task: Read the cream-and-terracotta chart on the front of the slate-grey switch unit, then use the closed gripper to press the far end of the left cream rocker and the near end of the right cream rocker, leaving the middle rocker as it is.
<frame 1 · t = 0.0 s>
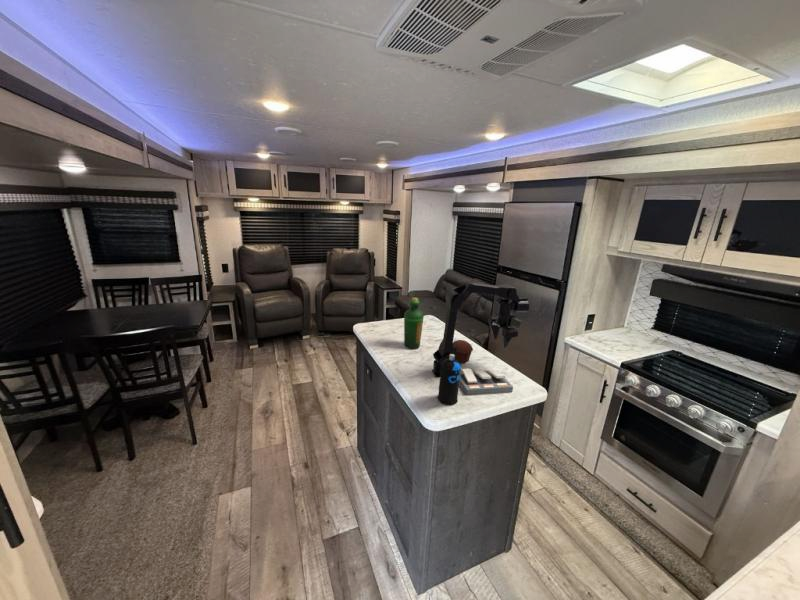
hand: (499, 343, 147), 15 cm above the countertop, fingers open, 9 cm apart
aerosol can: (447, 399, 126), on the countertop
switch unit: (482, 384, 138), on the countertop
bottle: (411, 346, 173), on the countertop
rocker B: (482, 375, 138), point 4 cm above the countertop, hinge at -12.0°
muffin: (460, 359, 161), on the countertop
rocker A: (469, 376, 137), point 4 cm above the countertop, hinge at 12.0°
rocker C: (496, 374, 139), point 4 cm above the countertop, hinge at -12.0°
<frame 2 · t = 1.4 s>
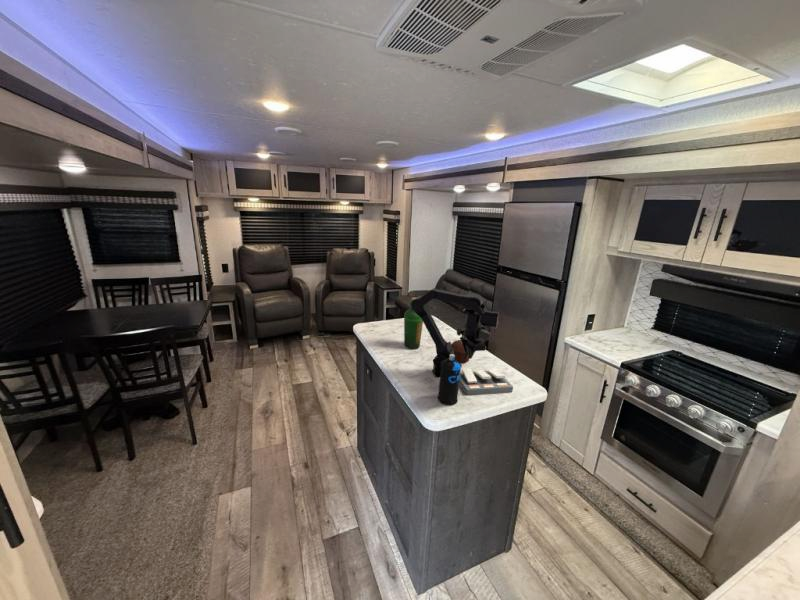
hand: (468, 356, 138), 12 cm above the countertop, fingers open, 4 cm apart
nothing on the countertop moved.
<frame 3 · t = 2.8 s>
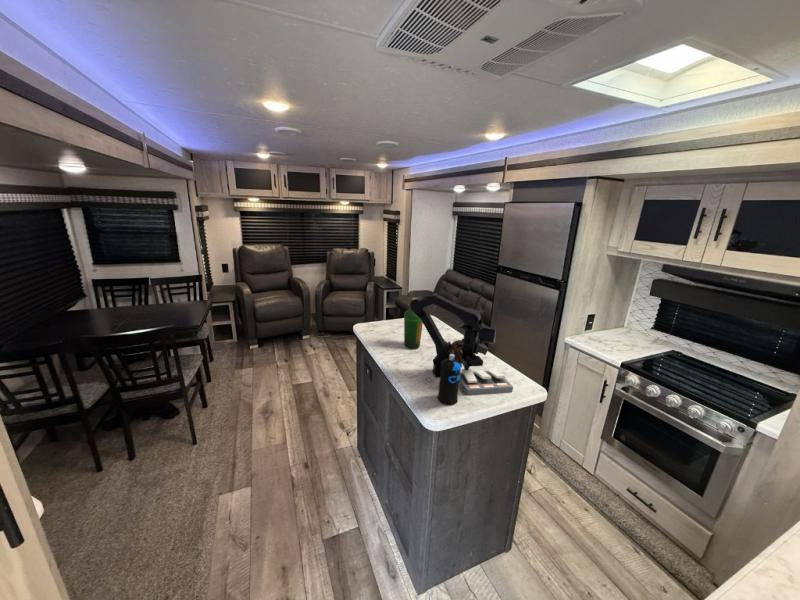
hand: (466, 370, 140), 5 cm above the countertop, fingers closed, pressing on rocker A
rocker A: (469, 376, 137), point 4 cm above the countertop, hinge at 10.4°, touching gripper
everything else where it was.
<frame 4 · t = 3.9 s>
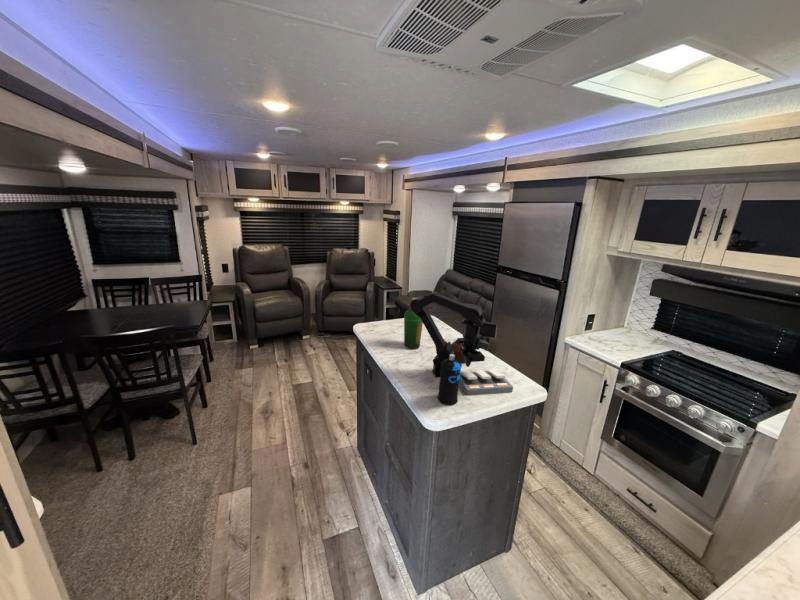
hand: (467, 366, 139), 7 cm above the countertop, fingers closed
rocker A: (469, 375, 137), point 4 cm above the countertop, hinge at -14.4°
everything else where it was.
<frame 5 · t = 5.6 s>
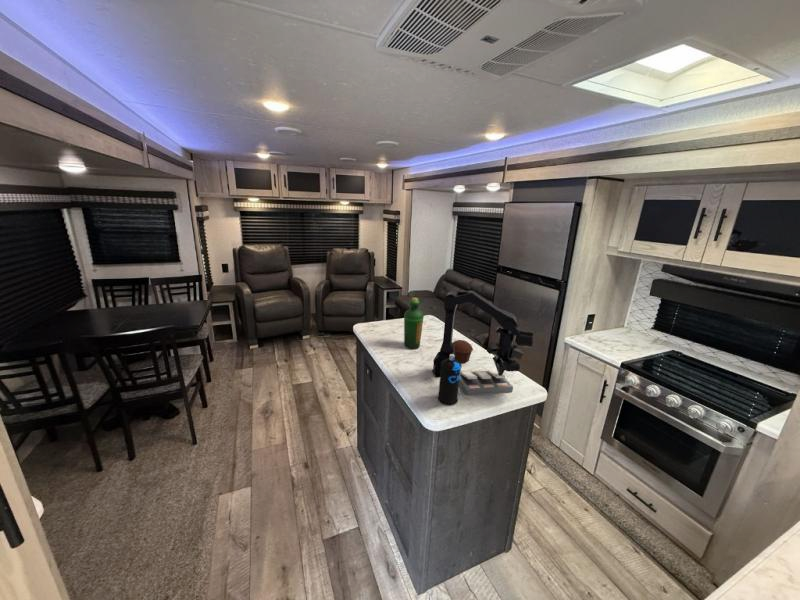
hand: (500, 375, 136), 6 cm above the countertop, fingers closed, pressing on rocker C
rocker A: (469, 375, 137), point 4 cm above the countertop, hinge at -16.6°
rocker C: (496, 374, 139), point 4 cm above the countertop, hinge at -12.0°, touching gripper
everything else where it was.
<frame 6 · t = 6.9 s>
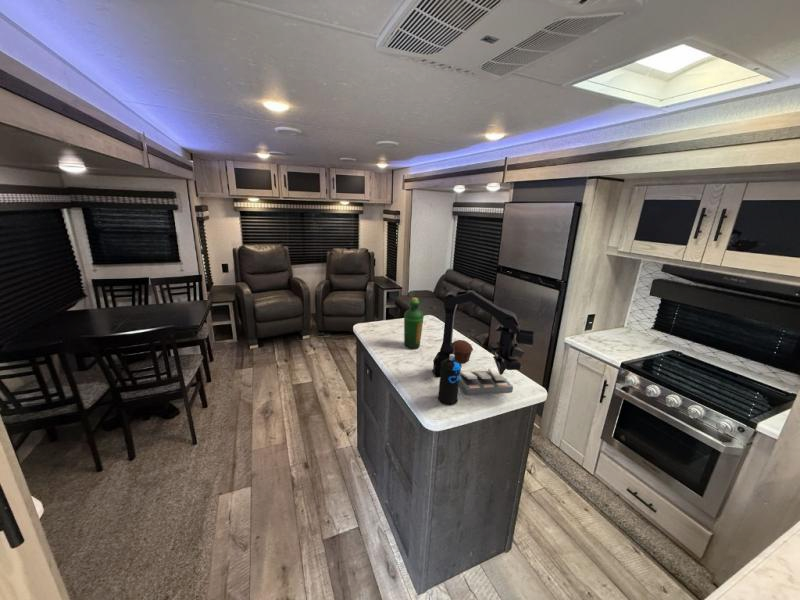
hand: (500, 374, 136), 6 cm above the countertop, fingers closed
rocker C: (496, 374, 139), point 4 cm above the countertop, hinge at 3.5°
everything else where it was.
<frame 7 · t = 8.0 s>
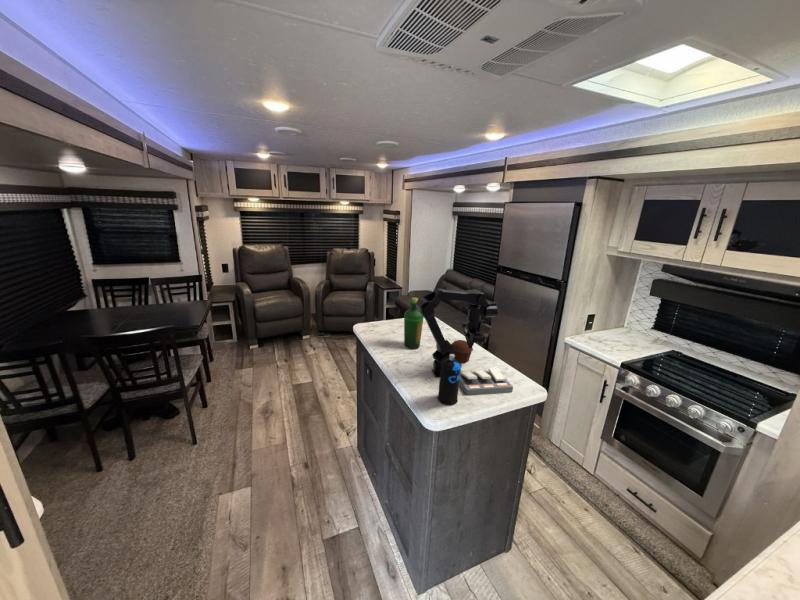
hand: (469, 348, 146), 12 cm above the countertop, fingers closed
rocker C: (496, 374, 139), point 4 cm above the countertop, hinge at 7.6°
everything else where it was.
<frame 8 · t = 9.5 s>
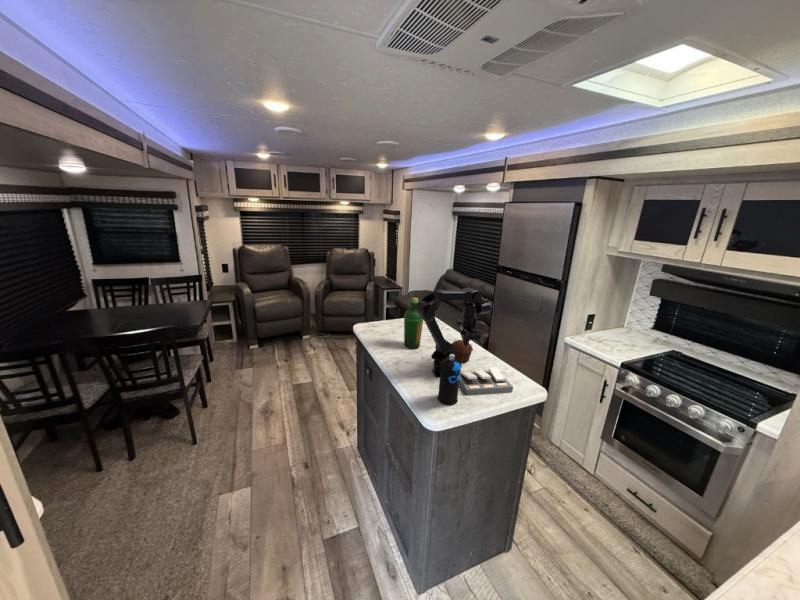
hand: (465, 345, 148), 12 cm above the countertop, fingers closed
rocker C: (496, 374, 139), point 4 cm above the countertop, hinge at 8.7°
everything else where it was.
at the end: rocker A at -16° (first picture: +12°); rocker B at -12° (first picture: -12°); rocker C at +9° (first picture: -12°) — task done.
